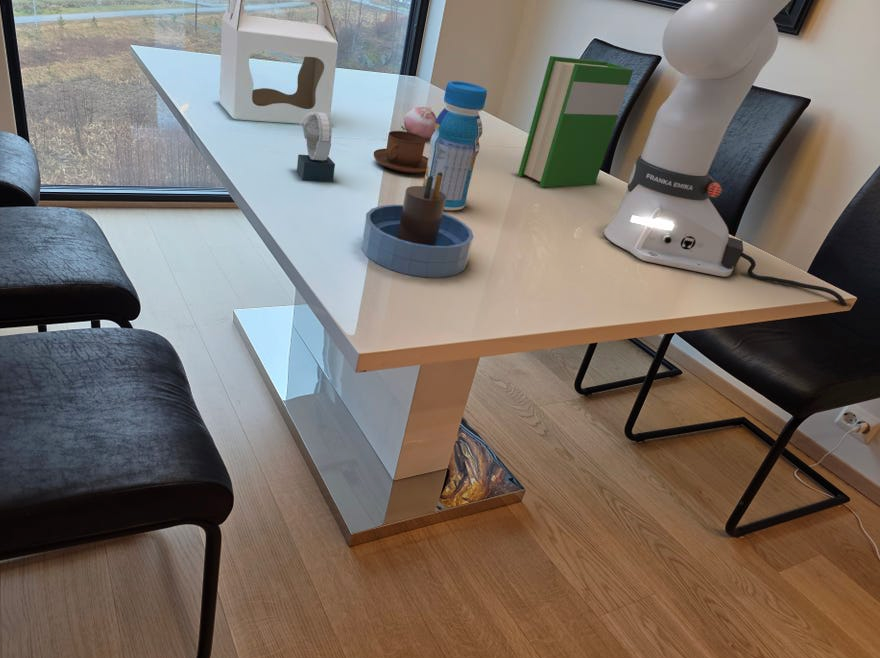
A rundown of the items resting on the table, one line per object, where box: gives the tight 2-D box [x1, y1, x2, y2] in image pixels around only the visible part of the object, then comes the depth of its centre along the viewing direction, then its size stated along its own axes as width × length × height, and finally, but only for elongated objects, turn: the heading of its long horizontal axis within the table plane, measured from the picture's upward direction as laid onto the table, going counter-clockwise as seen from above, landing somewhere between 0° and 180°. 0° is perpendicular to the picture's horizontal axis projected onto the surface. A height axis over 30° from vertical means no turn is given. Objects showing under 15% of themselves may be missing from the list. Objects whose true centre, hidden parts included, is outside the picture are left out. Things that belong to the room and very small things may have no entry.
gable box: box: [219, 0, 339, 125], centre depth 144 cm, size 22×13×28 cm, turn 115°
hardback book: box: [517, 55, 634, 189], centre depth 140 cm, size 18×7×24 cm, turn 126°
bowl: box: [361, 204, 474, 279], centre depth 95 cm, size 15×15×5 cm
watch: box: [296, 112, 336, 182], centre depth 116 cm, size 6×8×11 cm
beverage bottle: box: [422, 80, 488, 211], centre depth 114 cm, size 8×8×20 cm
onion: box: [400, 106, 437, 140], centre depth 155 cm, size 8×8×7 cm
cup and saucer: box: [373, 130, 429, 174], centre depth 132 cm, size 12×12×6 cm
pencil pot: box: [397, 172, 446, 246], centre depth 92 cm, size 6×6×12 cm
